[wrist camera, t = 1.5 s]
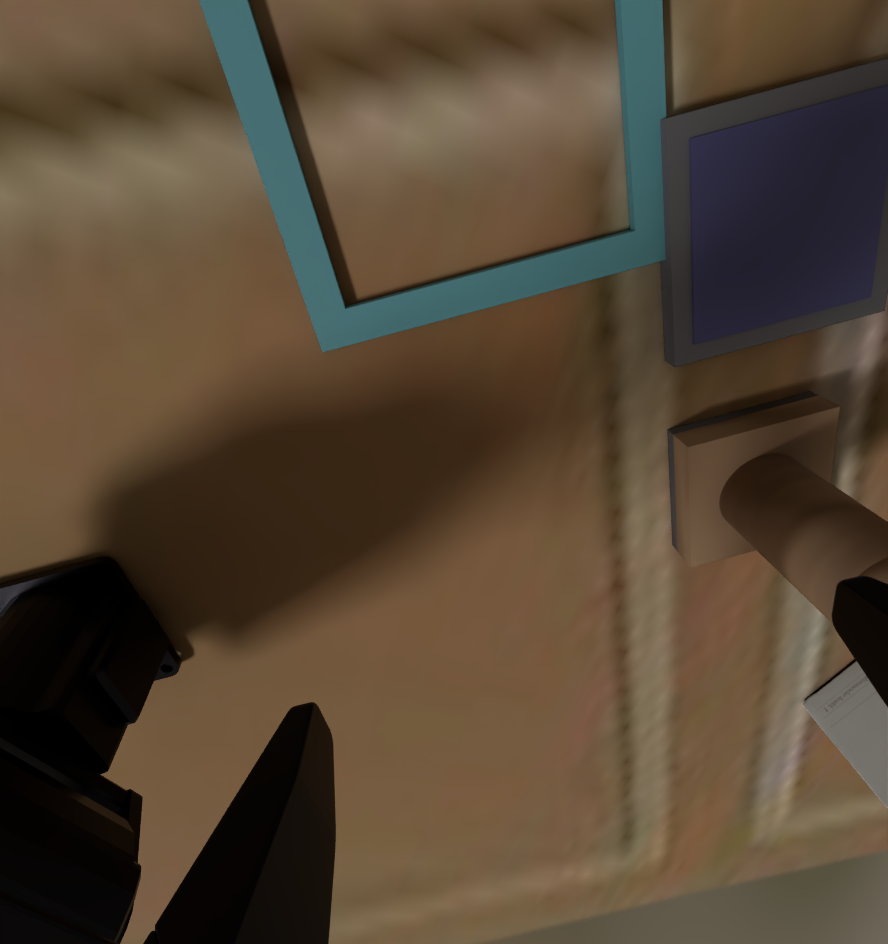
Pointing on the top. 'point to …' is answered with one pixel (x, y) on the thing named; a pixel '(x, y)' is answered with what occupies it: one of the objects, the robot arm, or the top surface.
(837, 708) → the supplement box
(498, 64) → the top surface
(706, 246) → the ink pad
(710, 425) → the stamp
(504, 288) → the frame
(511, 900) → the top surface
